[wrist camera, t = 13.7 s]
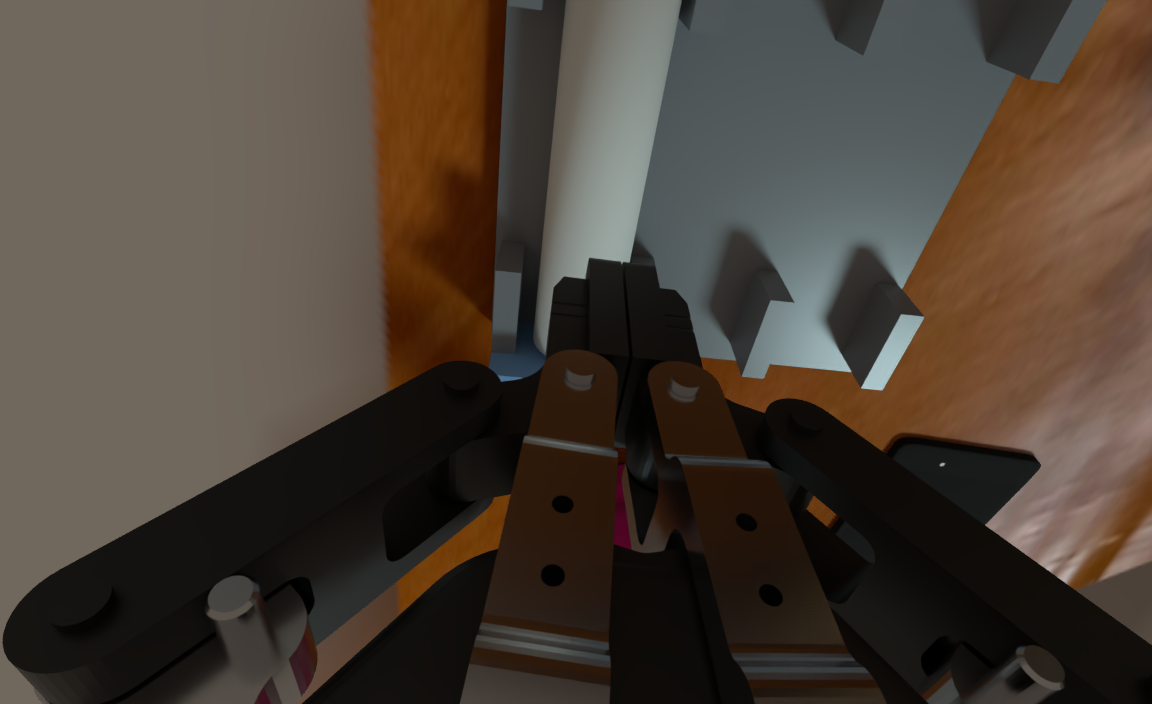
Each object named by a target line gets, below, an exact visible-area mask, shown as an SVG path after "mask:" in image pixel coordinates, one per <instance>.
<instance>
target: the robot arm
mask: <svg viewBox="0 0 1152 704" xmlns="http://www.w3.org/2000/svg"><path fill="white" fill-rule="evenodd" d="M690 319H691V316H690V312H689V308H688V304H687V302H686V301H685V300H684V299H683V298H682V297H681V296H680V294H679V293H678V292H677V291H676V290H673V289H665V288H659V282H658V277H657V271H656V267H655V266H654V265H646V264H638V263H630V262H623V263H621V261H613V260H605V259H597V258H589V260H588V265H587V271H586V277H585V279H582V278H574V277H565V276H564V277H563V278H562V279H561V280H560V281H559V282H558V283H557V284H556V285H555V286H554V288H553V296H552V304H551V312H550V320H549V328H548V337H547V345H546V356H545V363H544V365H543V366H542V367H541V368H540V369H539V370H538V371H537V372H535V373H534V374H532V375H530V376H528V377H525V378H521V379H517V380H510V381H502V382H501V380H500V378H499V377H498V375H497V374H496V373H495V372H494V371H493V370H491V369H490V368H488V367H486V366H484V365H482V364H479V363H475V362H470V361H452V362H447V363H443V364H440V365H438V366H436V367H434V368H432V369H430V370H428V371H426V372H424V373H423V374H421V375H419V376H417V377H415V378H413V379H411V380H410V381H408V382H406V383H404V384H402V385H400V386H399V387H397V388H395V389H393V390H391V391H389V392H387V393H386V394H384V395H382V396H380V397H378V398H376V399H375V400H373V401H371V402H369V403H367V404H365V405H363V406H362V407H360V408H358V409H356V410H354V411H352V412H350V413H349V414H347V415H345V416H343V417H341V418H339V419H338V420H336V421H334V422H332V423H330V424H328V425H326V426H325V427H323V428H321V429H319V430H317V431H315V432H314V433H312V434H310V435H308V436H306V437H304V438H302V439H301V440H299V441H297V442H295V443H293V444H291V445H289V446H288V447H286V448H284V449H282V450H280V451H278V452H277V453H275V454H273V455H271V456H269V457H267V458H265V459H264V460H262V461H260V462H258V463H256V464H254V465H252V466H251V467H249V468H247V469H245V470H243V471H241V472H239V473H238V474H236V475H234V476H232V477H230V478H229V479H227V480H225V481H223V482H222V483H220V484H217V485H215V486H214V487H212V488H210V489H208V490H206V491H204V492H203V493H201V494H199V495H197V496H195V497H193V498H191V499H190V500H188V501H186V502H184V503H182V504H181V505H178V506H177V507H175V508H173V509H171V510H169V511H167V512H166V513H164V514H162V515H160V516H158V517H156V518H154V519H153V520H151V521H149V522H147V523H145V524H143V525H141V526H140V527H138V528H136V529H134V530H132V531H130V532H129V533H127V534H125V535H123V536H121V537H119V538H118V539H116V540H114V541H112V542H110V543H108V544H107V545H105V546H103V547H101V548H99V549H97V550H95V551H93V552H92V553H90V554H88V555H86V556H84V557H82V558H80V559H79V560H77V561H75V562H73V563H71V564H69V565H68V566H66V567H64V568H62V569H60V570H59V571H57V572H55V573H54V574H52V575H50V576H49V577H47V578H46V579H44V580H43V581H42V582H40V583H39V584H38V585H37V586H36V587H34V588H33V589H32V590H31V591H30V592H29V593H28V594H27V595H26V596H25V597H24V598H23V599H22V600H21V601H20V602H19V604H18V605H17V606H16V608H15V609H14V611H13V612H12V614H11V616H10V618H9V620H8V622H7V624H6V627H5V630H4V633H3V648H4V652H5V654H6V656H7V658H8V660H9V661H10V662H11V663H12V664H13V665H14V666H15V667H16V668H17V669H18V670H19V671H20V672H21V674H23V676H24V677H25V678H26V679H27V680H28V681H29V682H30V683H31V684H32V685H33V686H34V691H35V693H36V695H37V697H38V699H39V700H40V701H41V702H42V703H43V704H295V703H296V702H297V701H298V700H299V699H300V698H301V697H302V695H303V694H304V693H305V691H306V690H307V689H308V687H309V685H310V683H311V681H312V679H313V677H314V673H315V671H316V666H317V648H316V646H317V645H318V644H319V643H320V642H322V641H323V640H324V639H326V638H327V637H328V636H329V635H331V634H332V633H333V632H334V631H335V630H337V629H338V628H339V627H340V626H342V625H343V624H344V623H346V621H348V620H349V619H350V618H352V617H353V616H354V615H355V614H357V613H358V612H359V611H360V610H362V609H363V608H364V607H365V606H367V605H368V604H369V603H370V602H372V601H373V600H374V599H375V598H377V597H378V596H379V595H380V594H382V593H383V592H384V591H385V590H387V589H388V588H389V587H390V586H392V585H393V584H394V583H395V582H397V581H398V580H399V579H400V578H402V577H403V576H404V575H405V574H407V573H408V572H409V571H410V570H412V569H413V568H414V567H415V566H417V565H418V564H419V563H420V562H422V561H423V560H424V559H425V558H427V557H428V556H429V555H430V554H432V553H433V552H434V551H435V550H437V549H438V548H439V547H440V546H442V545H443V544H444V543H445V542H447V541H448V540H449V539H450V538H452V537H453V536H454V535H455V534H456V533H458V532H459V531H460V530H461V529H463V528H464V527H465V526H466V525H468V524H469V523H470V522H471V521H473V520H474V519H475V518H476V517H478V516H479V515H480V514H481V513H483V512H484V511H485V510H486V509H487V508H488V507H489V506H490V504H491V503H492V501H493V499H494V497H498V496H503V495H509V494H511V496H510V500H509V504H508V509H507V513H506V517H505V522H504V526H503V530H502V535H501V539H500V543H499V548H498V549H496V550H492V551H489V552H486V553H483V554H481V555H478V556H476V557H473V558H471V559H469V560H467V561H466V562H464V563H462V564H460V565H458V566H456V567H455V568H454V569H452V570H451V571H449V572H448V573H446V574H445V575H444V576H442V577H441V578H440V579H439V580H438V581H436V582H435V583H434V584H433V585H432V586H431V587H430V588H429V589H428V590H427V591H425V592H424V593H423V594H422V595H421V596H420V597H419V598H418V599H417V600H416V601H414V602H413V603H412V604H411V605H410V606H409V607H408V608H407V609H406V610H404V611H403V612H402V613H401V614H400V615H399V616H398V617H397V618H396V619H395V620H394V621H393V622H391V623H390V624H389V625H388V626H387V627H386V628H385V629H384V630H382V631H381V632H380V633H379V634H378V635H377V636H376V637H375V638H374V639H373V640H371V641H370V642H369V643H368V644H367V645H366V646H365V647H364V648H363V649H362V650H360V651H359V652H358V653H357V654H356V655H355V656H354V657H353V658H352V659H351V660H349V661H348V662H347V663H346V664H345V665H344V666H343V667H342V668H341V669H340V670H338V671H337V672H336V673H335V674H334V675H333V676H332V677H331V678H330V679H328V681H326V682H325V683H324V684H323V685H322V686H321V687H320V688H319V689H318V690H316V691H315V692H314V693H313V694H312V695H311V696H310V697H309V698H308V699H306V700H305V702H303V703H302V704H1152V645H1151V644H1149V643H1148V642H1147V641H1145V640H1144V639H1142V638H1141V637H1140V636H1138V635H1137V634H1135V633H1134V632H1133V631H1131V630H1130V629H1128V628H1127V627H1126V626H1124V625H1123V624H1121V623H1120V622H1119V621H1117V620H1116V619H1115V618H1113V617H1112V616H1110V615H1109V614H1108V613H1106V612H1105V611H1103V610H1102V609H1100V608H1099V607H1098V606H1096V605H1095V604H1094V603H1092V602H1091V601H1089V600H1088V599H1086V598H1085V597H1084V596H1083V595H1081V594H1080V593H1078V592H1077V591H1076V590H1074V589H1073V588H1071V587H1070V586H1069V585H1067V584H1066V583H1064V582H1063V581H1062V580H1060V579H1059V578H1057V577H1056V576H1055V575H1053V574H1052V573H1051V572H1049V571H1048V570H1046V569H1045V568H1044V567H1042V566H1041V565H1039V564H1038V563H1037V562H1035V561H1034V560H1032V559H1031V558H1030V557H1028V556H1027V555H1025V554H1024V553H1023V552H1021V551H1020V550H1019V549H1017V548H1016V547H1014V546H1013V545H1012V544H1010V543H1009V542H1007V541H1006V540H1005V539H1003V538H1002V537H1000V536H999V535H998V534H996V533H995V532H993V531H992V530H991V529H989V528H988V527H987V526H985V525H984V524H982V523H981V522H980V521H978V520H977V519H975V518H974V517H973V516H971V515H970V514H968V513H967V512H966V511H964V510H963V509H961V508H960V507H959V506H957V505H956V504H955V503H953V502H952V501H950V500H949V499H948V498H946V497H945V496H943V495H942V494H941V493H939V492H938V491H936V490H935V489H934V488H932V487H931V486H929V485H928V484H927V483H925V482H924V481H923V480H921V479H920V478H918V477H917V476H916V475H914V474H913V473H911V472H910V471H909V470H907V469H906V468H904V467H903V466H902V465H900V464H899V463H897V462H896V461H895V460H893V459H892V458H891V457H889V456H888V455H886V454H885V453H884V452H882V451H881V450H879V449H878V448H877V447H875V446H874V445H872V444H871V443H870V442H868V441H867V440H865V439H864V438H863V437H861V436H860V435H859V434H857V433H856V432H854V431H853V430H852V429H850V428H849V427H847V426H846V425H845V424H843V423H842V422H840V421H839V420H838V419H836V418H835V417H834V416H832V415H831V414H829V413H828V412H827V411H825V410H823V409H822V408H820V407H818V406H816V405H814V404H812V403H809V402H806V401H803V400H798V399H790V398H788V399H780V400H776V401H774V402H772V403H771V404H770V405H769V406H768V407H767V409H766V412H765V413H762V412H760V411H757V410H754V409H751V408H748V407H745V406H742V405H739V404H737V403H734V402H732V401H730V400H728V399H726V398H725V397H724V394H723V391H722V389H721V386H720V384H719V382H718V381H717V380H716V378H715V377H714V376H713V375H712V374H710V373H709V372H708V371H706V370H704V369H703V367H702V363H701V358H700V354H699V350H698V346H697V342H696V337H695V333H694V332H693V325H692V321H691V320H690ZM614 447H618V448H626V461H625V465H624V469H623V473H622V486H623V493H624V500H625V506H626V513H627V520H628V527H629V534H630V540H631V547H632V550H631V549H628V548H625V547H622V546H619V545H616V544H614V526H615V507H616V487H617V468H618V451H617V450H615V449H614ZM813 496H815V497H816V498H818V499H819V500H820V501H821V502H822V503H824V504H825V505H826V506H827V507H828V508H830V509H831V510H832V511H833V512H834V513H836V514H837V515H838V516H839V517H840V518H842V519H843V520H844V521H845V522H846V523H848V524H849V525H850V526H851V527H853V528H854V529H855V530H856V531H857V532H859V533H860V534H861V535H862V536H863V537H864V538H865V539H866V540H867V541H868V542H869V544H870V545H871V547H872V549H873V551H874V554H875V562H874V564H873V563H870V562H868V561H867V560H865V559H864V558H863V557H862V556H860V555H859V554H858V553H857V552H856V551H855V550H853V549H852V548H851V547H850V546H849V545H848V544H846V543H845V542H844V541H843V540H842V539H841V538H839V537H838V536H837V535H836V534H835V533H834V532H832V531H831V530H830V529H829V528H828V527H826V526H825V525H824V524H823V523H822V522H821V521H819V520H818V519H817V518H816V517H815V516H814V515H812V514H811V513H810V512H809V511H808V510H807V509H806V508H807V507H808V505H809V503H810V501H811V500H812V498H813Z"/></svg>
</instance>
